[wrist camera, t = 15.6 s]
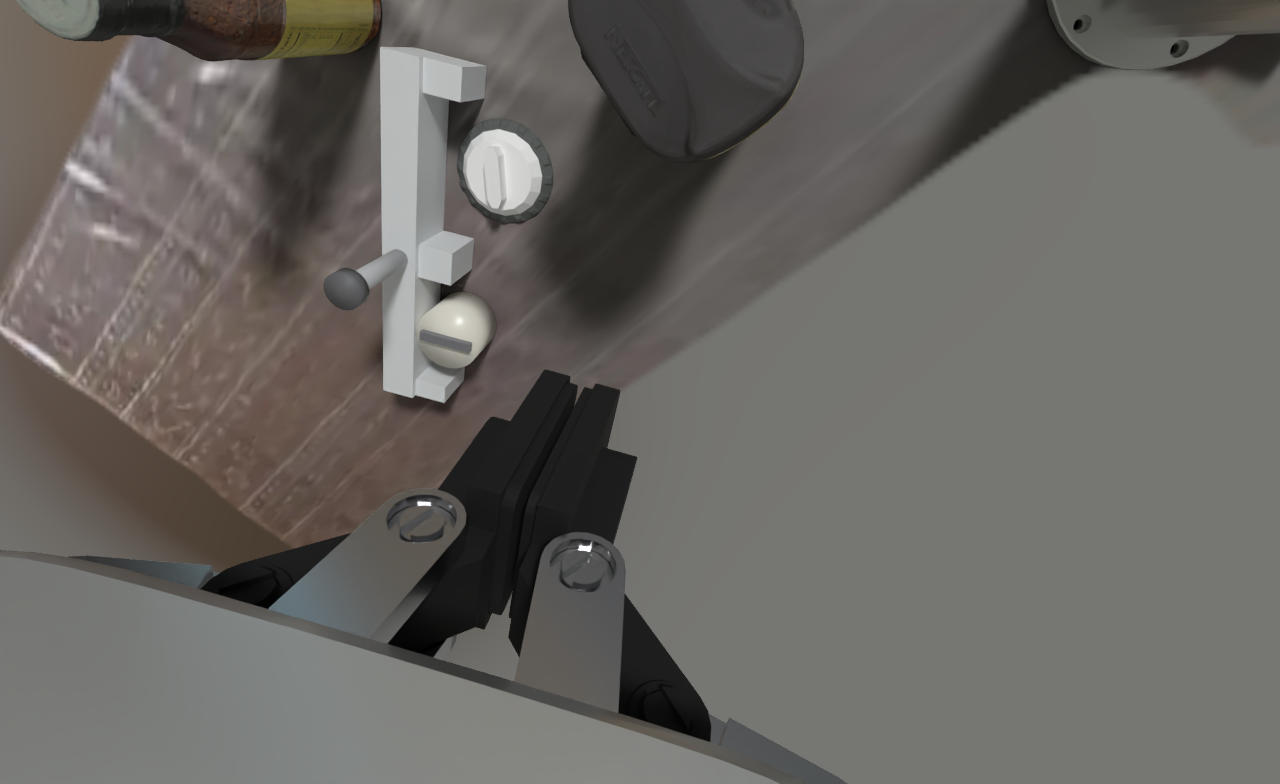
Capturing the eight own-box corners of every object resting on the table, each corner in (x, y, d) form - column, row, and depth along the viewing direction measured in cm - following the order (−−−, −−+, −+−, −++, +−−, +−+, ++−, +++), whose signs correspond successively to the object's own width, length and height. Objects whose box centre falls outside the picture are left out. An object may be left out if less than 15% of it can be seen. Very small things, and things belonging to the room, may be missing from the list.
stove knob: (553, 119, 41) (540, 123, 39) (557, 225, 45) (546, 235, 42) (453, 114, 42) (434, 118, 40) (465, 218, 46) (449, 228, 43)
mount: (486, 66, 40) (401, 69, 30) (463, 380, 53) (399, 455, 43) (415, 47, 40) (307, 45, 30) (409, 365, 53) (332, 437, 43)
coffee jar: (803, 72, 37) (848, 85, 21) (697, 149, 40) (667, 210, 24) (721, -83, 34) (701, -206, 18) (613, 13, 37) (515, -19, 21)
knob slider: (499, 300, 48) (478, 321, 44) (494, 353, 51) (473, 378, 47) (440, 284, 48) (413, 304, 44) (437, 338, 51) (412, 362, 47)
